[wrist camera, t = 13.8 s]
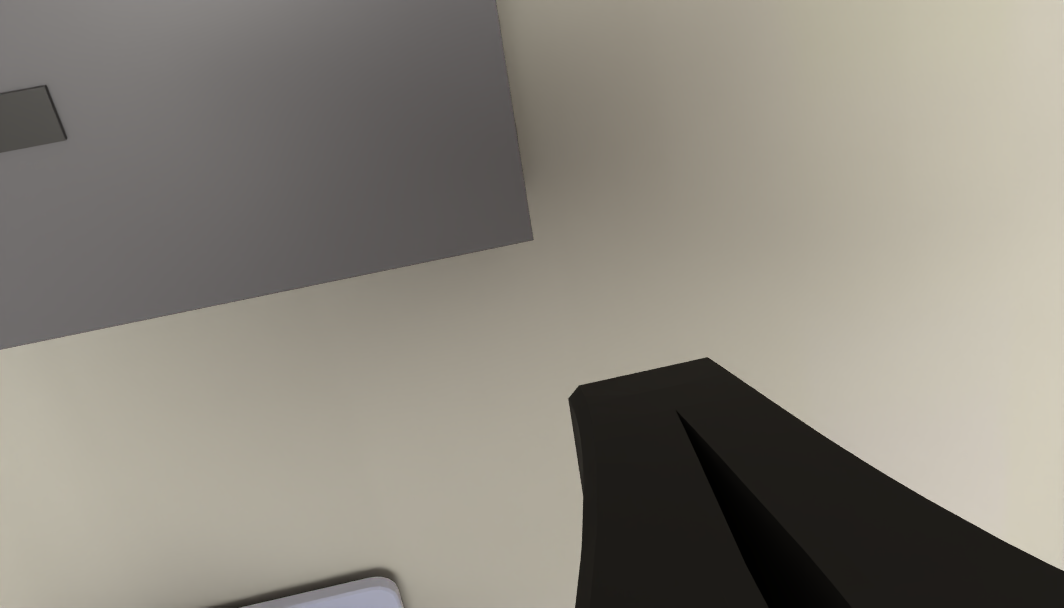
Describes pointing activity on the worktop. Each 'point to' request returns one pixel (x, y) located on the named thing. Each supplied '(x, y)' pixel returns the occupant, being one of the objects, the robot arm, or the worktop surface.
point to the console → (242, 151)
